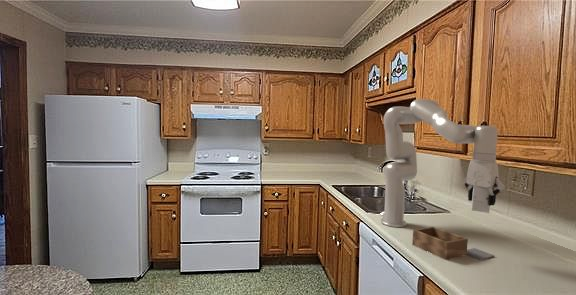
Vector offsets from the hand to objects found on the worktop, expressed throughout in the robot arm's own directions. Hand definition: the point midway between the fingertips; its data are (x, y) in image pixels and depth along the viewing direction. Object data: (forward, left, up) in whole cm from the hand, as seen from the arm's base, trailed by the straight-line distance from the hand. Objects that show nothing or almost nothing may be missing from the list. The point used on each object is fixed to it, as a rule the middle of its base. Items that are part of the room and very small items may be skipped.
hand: (481, 202), depth 122 cm
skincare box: (0, 0, -3) cm, 3 cm away
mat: (0, 0, -21) cm, 21 cm away
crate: (-9, -10, -21) cm, 25 cm away
